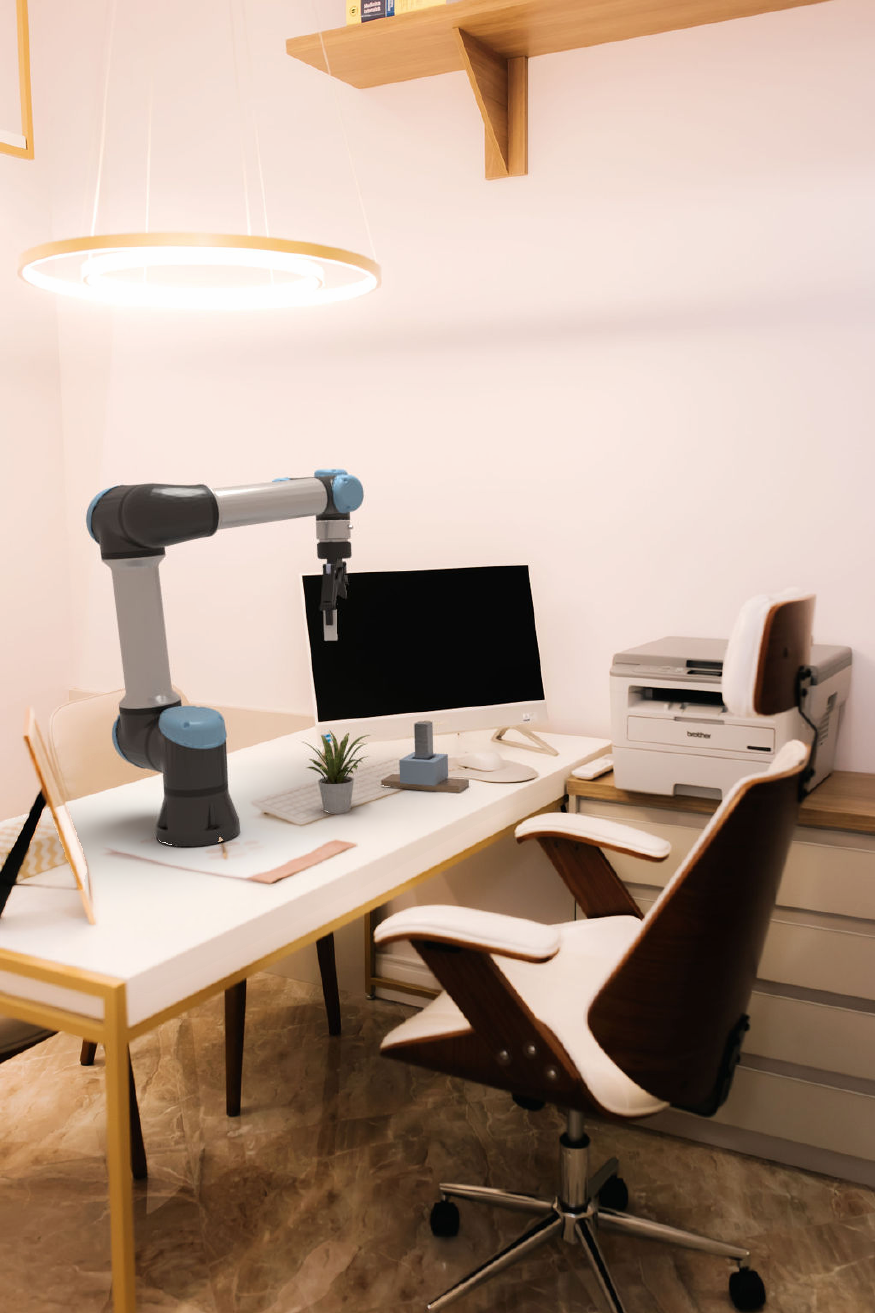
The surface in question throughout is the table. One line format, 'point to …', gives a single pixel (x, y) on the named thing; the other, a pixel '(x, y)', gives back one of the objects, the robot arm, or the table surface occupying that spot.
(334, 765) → the house plant
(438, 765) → the blue-grey hollow block
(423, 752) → the keyed post
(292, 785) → the table surface
